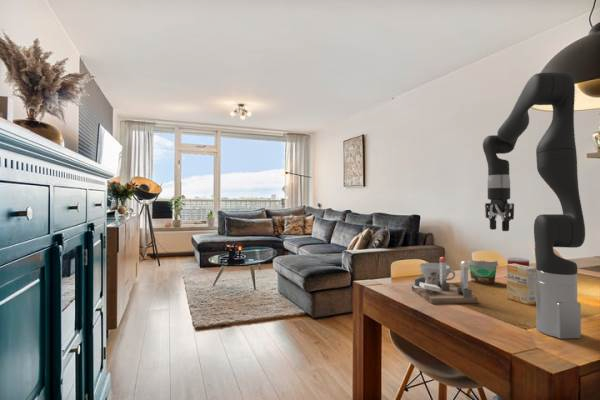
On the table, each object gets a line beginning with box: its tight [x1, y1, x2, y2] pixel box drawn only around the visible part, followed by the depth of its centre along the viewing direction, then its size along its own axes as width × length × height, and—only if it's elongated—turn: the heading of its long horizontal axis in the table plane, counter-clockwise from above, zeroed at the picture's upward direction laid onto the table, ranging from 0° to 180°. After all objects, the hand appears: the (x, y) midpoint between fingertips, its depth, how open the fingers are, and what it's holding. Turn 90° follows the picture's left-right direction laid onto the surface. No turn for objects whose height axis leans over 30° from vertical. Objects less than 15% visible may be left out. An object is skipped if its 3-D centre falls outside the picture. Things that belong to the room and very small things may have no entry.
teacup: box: [419, 262, 456, 284], centre depth 149 cm, size 15×12×8 cm
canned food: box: [507, 257, 530, 267], centre depth 147 cm, size 8×8×11 cm
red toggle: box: [438, 256, 447, 287], centre depth 132 cm, size 3×3×12 cm
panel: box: [409, 281, 479, 305], centre depth 130 cm, size 20×18×5 cm
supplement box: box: [506, 263, 536, 306], centre depth 122 cm, size 8×5×13 cm, turn 21°
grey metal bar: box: [459, 260, 469, 294], centre depth 123 cm, size 3×3×12 cm
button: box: [414, 276, 426, 286], centre depth 137 cm, size 4×4×3 cm
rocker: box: [419, 282, 441, 292], centre depth 128 cm, size 4×6×1 cm
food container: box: [467, 259, 499, 285], centre depth 149 cm, size 12×6×10 cm, turn 76°
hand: (499, 230), depth 128 cm, fingers open, 7 cm apart
